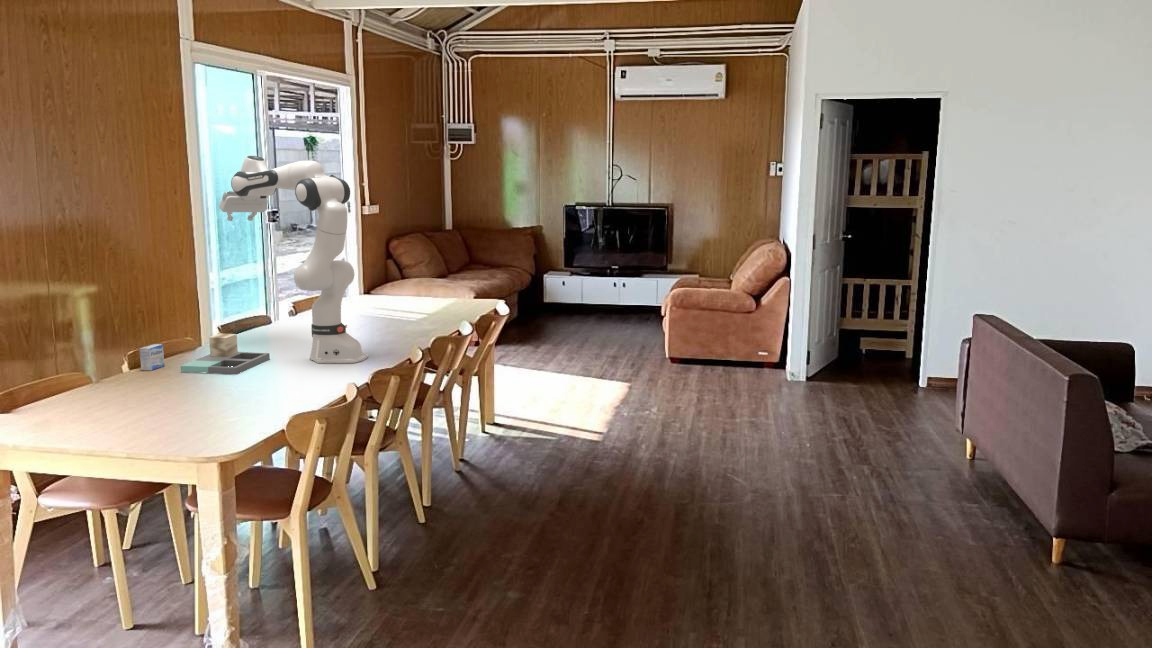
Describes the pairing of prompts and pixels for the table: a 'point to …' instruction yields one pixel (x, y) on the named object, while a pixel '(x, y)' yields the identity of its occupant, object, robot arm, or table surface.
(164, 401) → the table surface
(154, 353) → the medicine box
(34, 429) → the table surface
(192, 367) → the tray
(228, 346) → the birch block
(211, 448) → the table surface
